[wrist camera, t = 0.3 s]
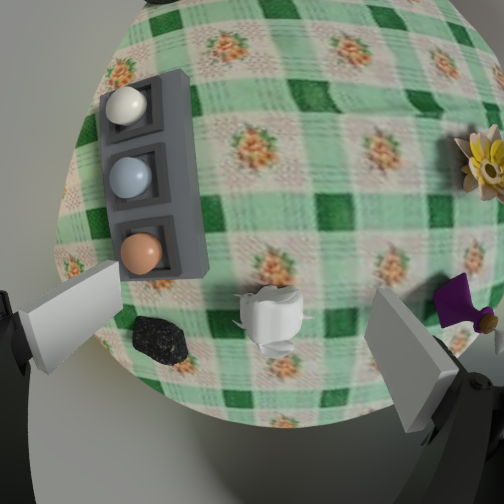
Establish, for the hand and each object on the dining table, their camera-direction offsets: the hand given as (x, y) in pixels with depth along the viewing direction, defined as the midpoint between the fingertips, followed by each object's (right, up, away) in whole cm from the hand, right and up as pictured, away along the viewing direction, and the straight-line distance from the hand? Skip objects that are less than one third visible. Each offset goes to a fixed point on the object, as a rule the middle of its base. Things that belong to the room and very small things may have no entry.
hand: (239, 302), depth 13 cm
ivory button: (-16, +22, +18) cm, 32 cm away
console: (-14, +14, +26) cm, 32 cm away
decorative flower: (+40, +18, +19) cm, 48 cm away
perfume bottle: (+35, -5, +26) cm, 43 cm away
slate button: (-15, +12, +20) cm, 28 cm away
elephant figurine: (+4, -5, +29) cm, 30 cm away
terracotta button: (-14, +3, +22) cm, 26 cm away
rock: (-16, -13, +33) cm, 39 cm away
